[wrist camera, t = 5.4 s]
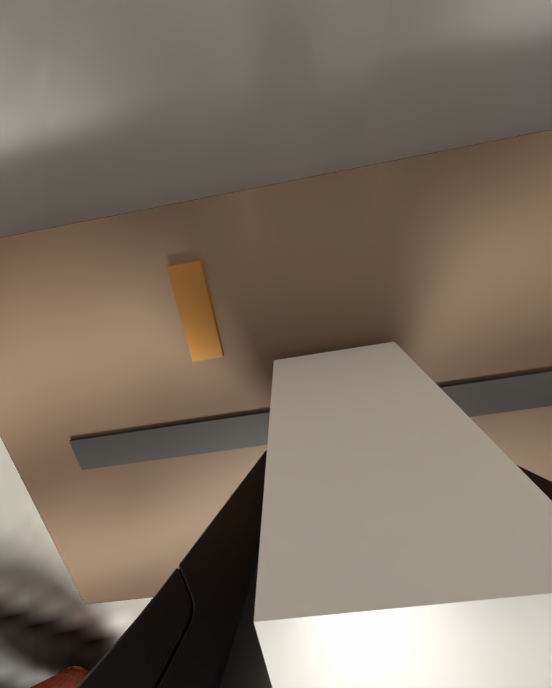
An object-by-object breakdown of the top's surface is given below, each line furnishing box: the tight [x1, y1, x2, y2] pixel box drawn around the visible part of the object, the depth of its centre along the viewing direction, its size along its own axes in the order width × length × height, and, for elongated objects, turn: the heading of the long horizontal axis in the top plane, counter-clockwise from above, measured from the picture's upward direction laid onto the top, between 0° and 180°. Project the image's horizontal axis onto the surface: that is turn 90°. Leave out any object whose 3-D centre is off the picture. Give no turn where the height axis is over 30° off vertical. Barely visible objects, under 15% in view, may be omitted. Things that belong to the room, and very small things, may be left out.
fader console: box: [0, 130, 552, 604], centre depth 10 cm, size 12×25×2 cm, turn 100°
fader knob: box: [254, 342, 552, 688], centre depth 6 cm, size 4×3×6 cm
